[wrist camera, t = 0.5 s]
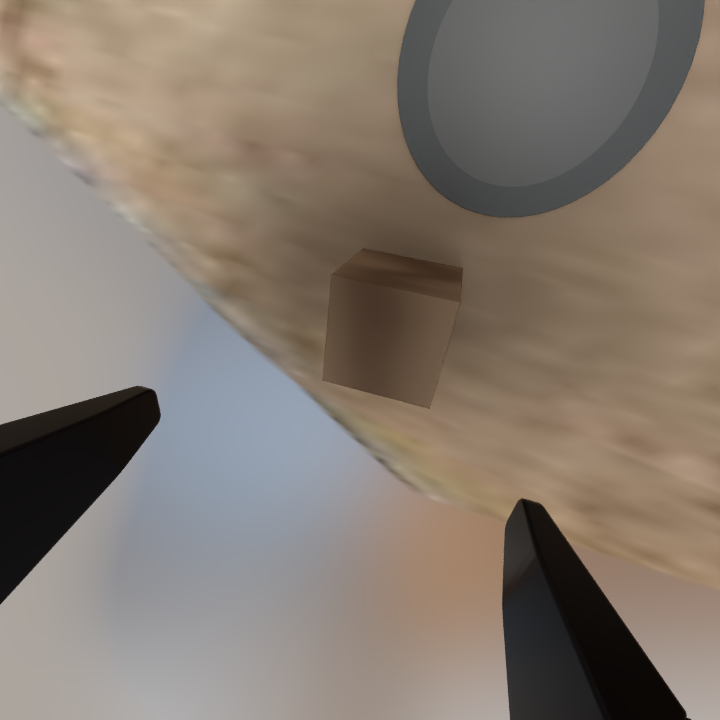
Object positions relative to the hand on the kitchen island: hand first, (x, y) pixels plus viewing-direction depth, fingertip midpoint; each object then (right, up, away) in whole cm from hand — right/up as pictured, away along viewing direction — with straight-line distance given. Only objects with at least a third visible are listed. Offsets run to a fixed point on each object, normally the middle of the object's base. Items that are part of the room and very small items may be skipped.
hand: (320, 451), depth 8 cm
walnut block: (+3, +5, +11) cm, 12 cm away
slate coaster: (+7, +13, +5) cm, 15 cm away
